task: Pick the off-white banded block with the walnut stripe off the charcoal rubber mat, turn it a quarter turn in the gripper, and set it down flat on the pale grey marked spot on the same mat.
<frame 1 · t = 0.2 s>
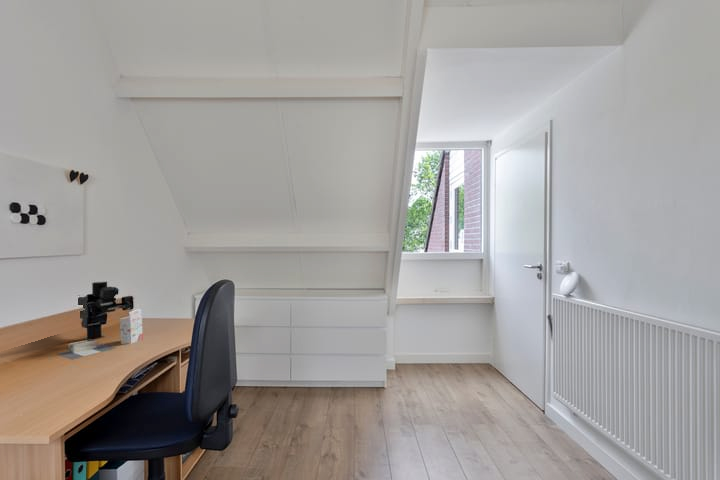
hand: (119, 308, 159), 17 cm above the table, tool horizontal, fingers open, 9 cm apart
off-white banded block: (82, 349, 153), resting on charcoal mat
charcoal mat: (87, 352, 151), on the table
ink cartridge box: (131, 342, 164), on the table
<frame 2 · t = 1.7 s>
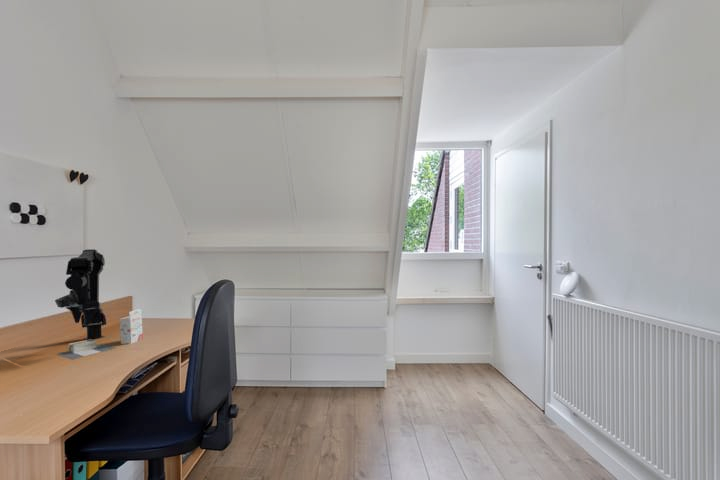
hand: (82, 323, 153), 11 cm above the table, tool pointing down, fingers open, 9 cm apart
nothing on the table moved.
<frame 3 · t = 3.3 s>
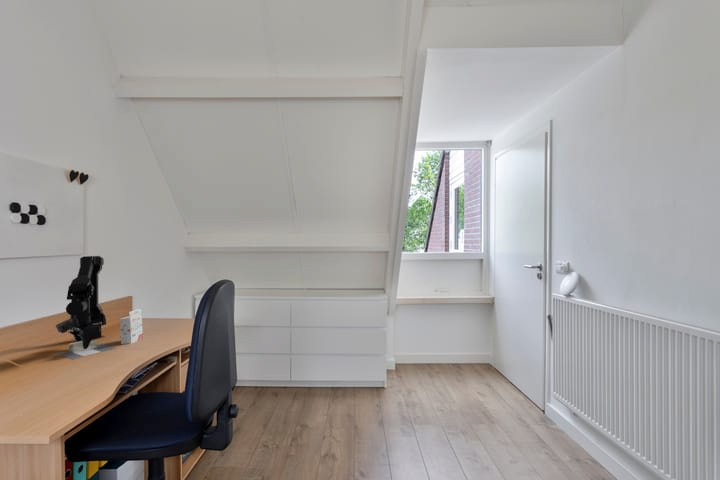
hand: (82, 348, 153), 1 cm above the table, tool pointing down, fingers closed on off-white banded block, 5 cm apart
off-white banded block: (82, 349, 153), resting on charcoal mat, touching gripper
everything else where it was.
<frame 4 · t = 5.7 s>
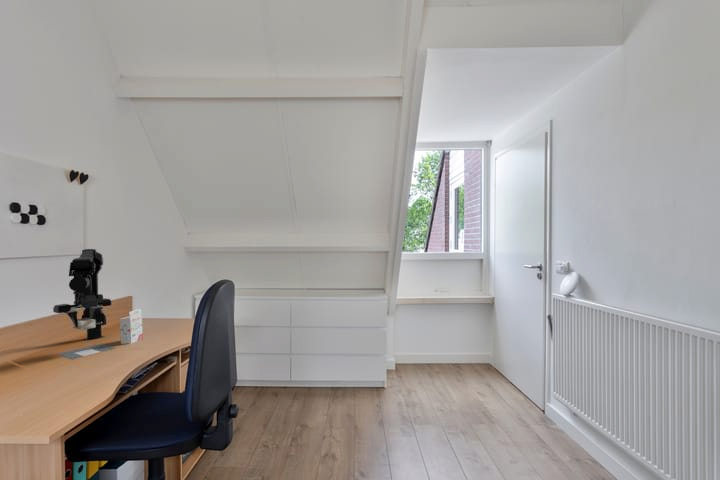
hand: (84, 325, 150), 11 cm above the table, tool pointing down, fingers closed on off-white banded block, 5 cm apart
off-white banded block: (84, 327, 150), point 10 cm above the table, touching gripper
everything else where it was.
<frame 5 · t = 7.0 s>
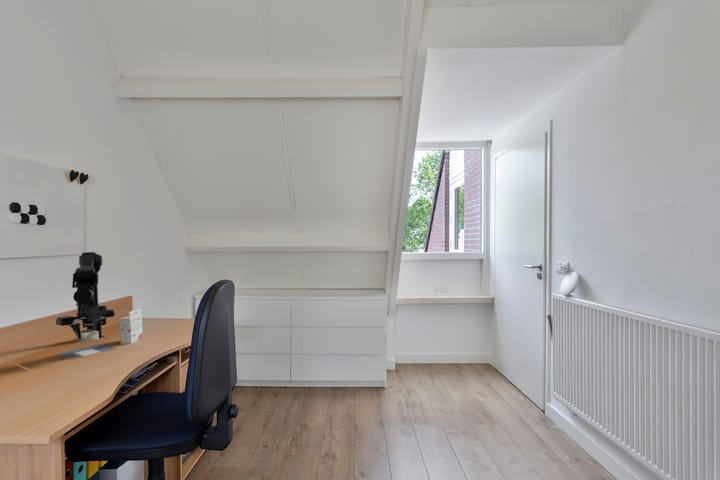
hand: (87, 337, 148), 7 cm above the table, tool pointing down, fingers closed on off-white banded block, 5 cm apart
off-white banded block: (87, 339, 148), point 6 cm above the table, touching gripper
everything else where it was.
when the fingers open (3 cm above the table, at t = 8.1 s): off-white banded block drops 1 cm, resting on charcoal mat.
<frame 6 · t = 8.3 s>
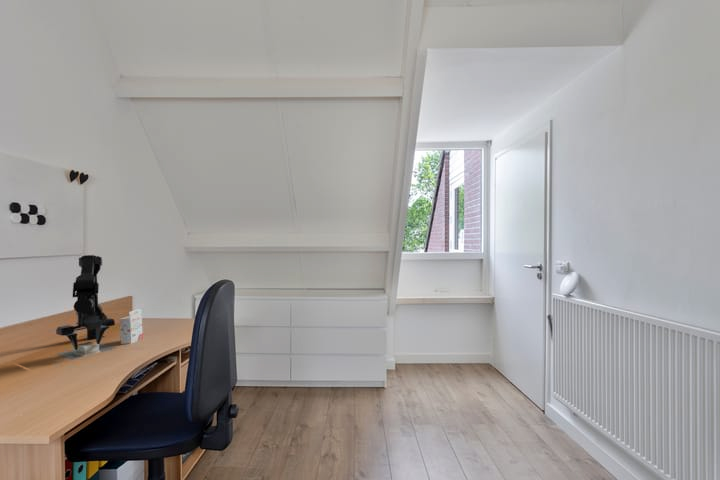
hand: (87, 347, 148), 3 cm above the table, tool pointing down, fingers open, 7 cm apart
off-white banded block: (87, 352, 148), point 1 cm above the table, touching charcoal mat
everything else where it was.
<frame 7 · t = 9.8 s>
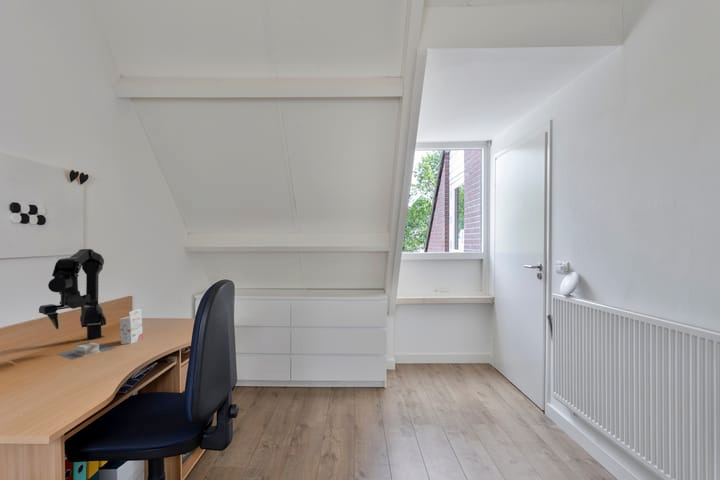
hand: (70, 326, 149), 11 cm above the table, tool pointing down, fingers open, 9 cm apart
nothing on the table moved.
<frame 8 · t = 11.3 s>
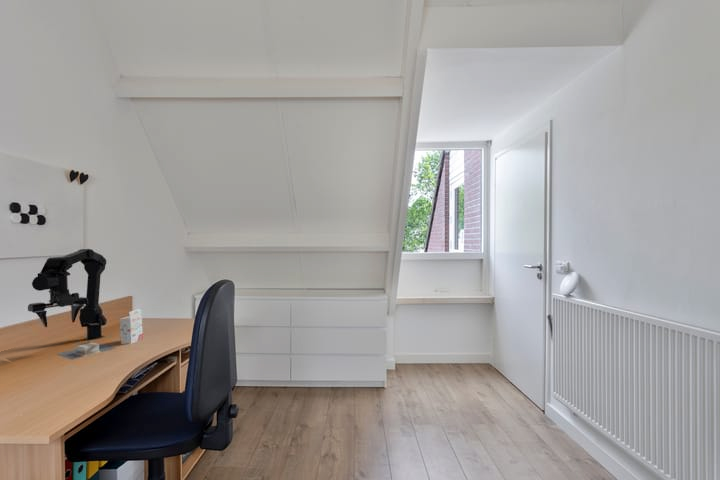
hand: (59, 324, 150), 12 cm above the table, tool pointing down, fingers open, 9 cm apart
nothing on the table moved.
at the end: off-white banded block 0.0 cm from the target spot, point 0.6 cm above the table; off-white banded block tilted 0°; the gripper is holding nothing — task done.
